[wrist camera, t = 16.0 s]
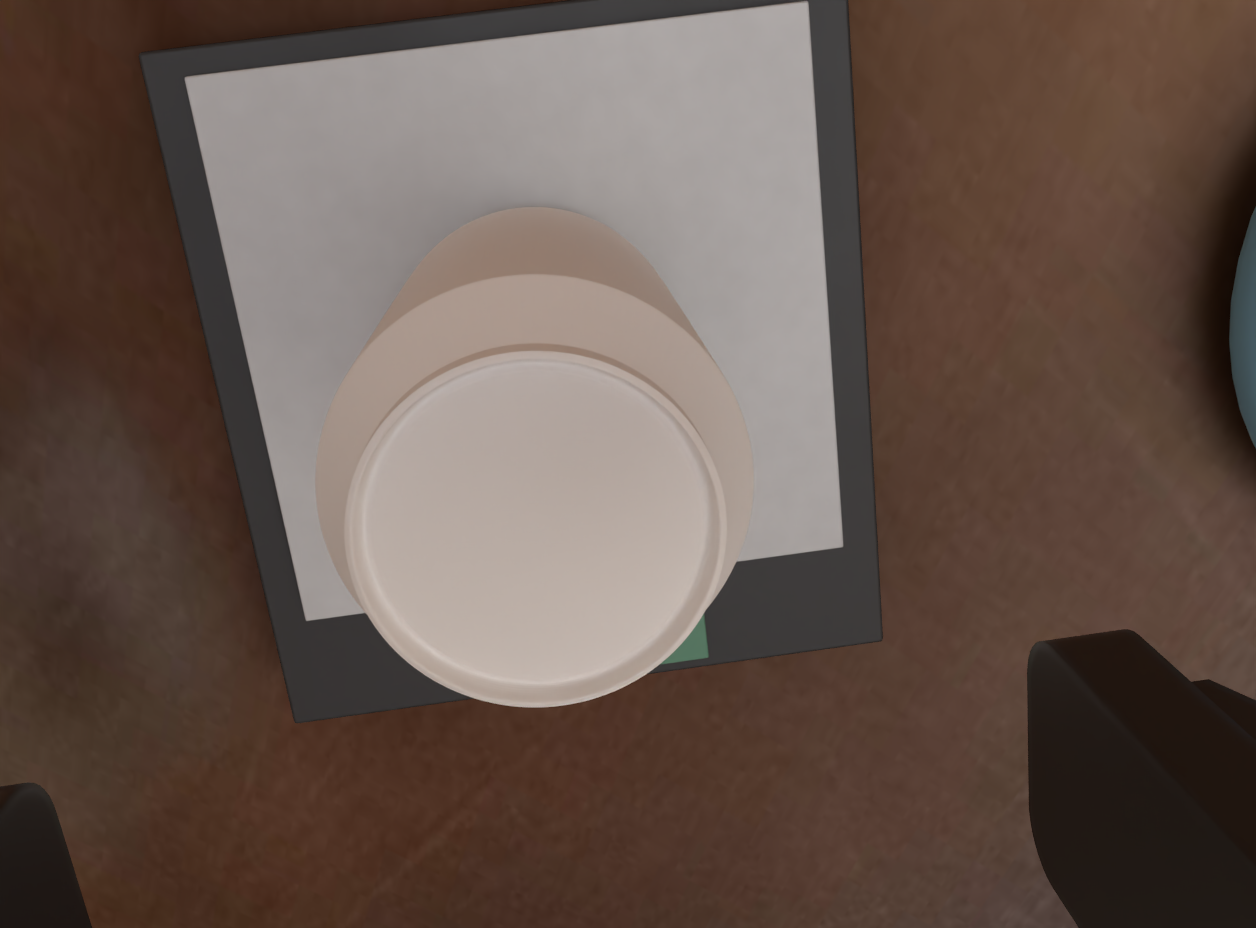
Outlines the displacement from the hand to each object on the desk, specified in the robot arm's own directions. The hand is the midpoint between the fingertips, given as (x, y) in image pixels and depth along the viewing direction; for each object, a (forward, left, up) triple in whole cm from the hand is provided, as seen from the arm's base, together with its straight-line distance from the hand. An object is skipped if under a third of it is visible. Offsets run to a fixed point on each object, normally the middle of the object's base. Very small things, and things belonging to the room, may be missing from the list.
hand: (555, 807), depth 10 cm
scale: (0, -1, -21) cm, 21 cm away
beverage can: (0, 0, -18) cm, 18 cm away
